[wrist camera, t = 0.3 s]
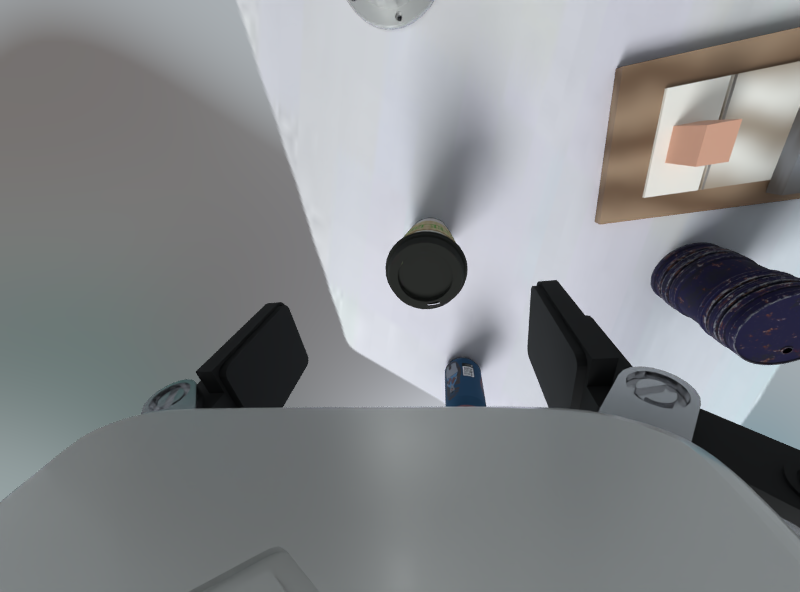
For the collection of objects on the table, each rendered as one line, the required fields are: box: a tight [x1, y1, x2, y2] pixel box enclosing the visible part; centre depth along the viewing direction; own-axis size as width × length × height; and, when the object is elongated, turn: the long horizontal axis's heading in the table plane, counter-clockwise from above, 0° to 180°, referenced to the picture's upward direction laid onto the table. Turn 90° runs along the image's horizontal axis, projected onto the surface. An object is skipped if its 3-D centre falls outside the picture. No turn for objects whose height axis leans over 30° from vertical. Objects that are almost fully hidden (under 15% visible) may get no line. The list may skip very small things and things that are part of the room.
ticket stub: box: [643, 75, 742, 198], centre depth 33 cm, size 12×6×5 cm, turn 10°
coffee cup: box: [386, 218, 467, 309], centre depth 40 cm, size 10×10×15 cm
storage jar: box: [651, 243, 800, 365], centre depth 37 cm, size 10×10×15 cm
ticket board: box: [595, 27, 800, 224], centre depth 34 cm, size 18×24×4 cm
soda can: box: [445, 357, 486, 407], centre depth 53 cm, size 7×7×12 cm
